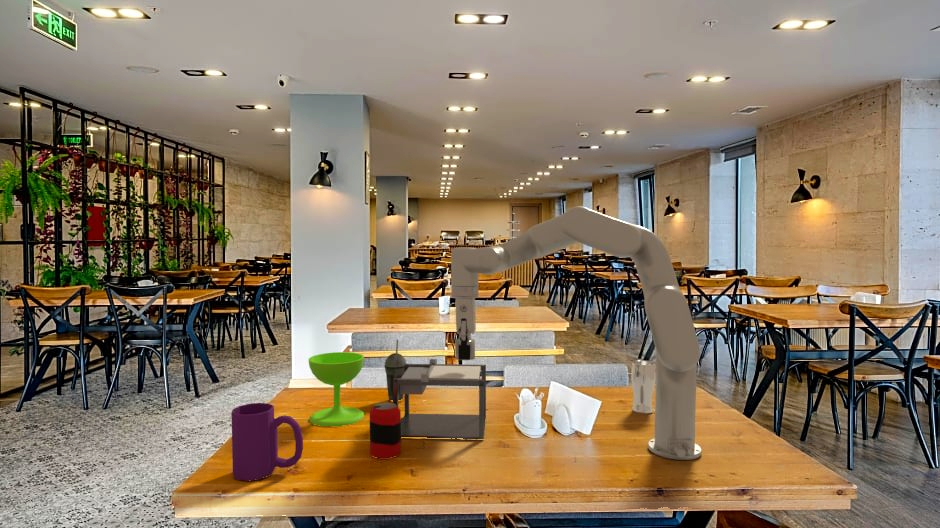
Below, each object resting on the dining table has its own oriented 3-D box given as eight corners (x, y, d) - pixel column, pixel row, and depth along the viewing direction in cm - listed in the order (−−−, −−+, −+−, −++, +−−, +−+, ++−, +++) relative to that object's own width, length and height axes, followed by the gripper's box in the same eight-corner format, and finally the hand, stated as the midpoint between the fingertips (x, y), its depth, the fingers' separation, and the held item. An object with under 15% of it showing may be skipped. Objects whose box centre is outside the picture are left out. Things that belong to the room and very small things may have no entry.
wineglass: (369, 422, 161) (369, 361, 160) (312, 430, 155) (311, 366, 154) (359, 407, 175) (358, 350, 174) (306, 413, 170) (305, 354, 169)
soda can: (367, 450, 140) (366, 403, 140) (396, 446, 143) (396, 400, 142) (373, 461, 133) (372, 412, 132) (404, 457, 136) (403, 408, 135)
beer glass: (657, 414, 168) (658, 365, 167) (634, 414, 168) (635, 365, 167) (650, 407, 175) (651, 360, 174) (628, 407, 175) (628, 359, 174)
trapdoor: (478, 395, 148) (478, 377, 147) (399, 394, 149) (399, 376, 149) (480, 381, 162) (480, 365, 162) (409, 380, 163) (409, 364, 163)
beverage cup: (380, 401, 181) (379, 340, 180) (393, 396, 187) (392, 337, 186) (398, 405, 177) (398, 342, 176) (411, 399, 184) (410, 339, 183)
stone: (474, 360, 152) (474, 342, 152) (454, 360, 152) (454, 342, 152) (475, 356, 157) (475, 338, 157) (456, 355, 158) (456, 338, 157)
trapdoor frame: (483, 441, 146) (483, 375, 145) (393, 439, 148) (392, 373, 147) (485, 418, 165) (485, 359, 164) (405, 416, 166) (405, 358, 165)
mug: (240, 465, 131) (239, 403, 130) (307, 463, 132) (306, 401, 131) (226, 483, 122) (224, 415, 121) (298, 480, 123) (297, 413, 122)
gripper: (476, 295, 145) (477, 364, 146) (479, 289, 162) (480, 350, 163) (448, 295, 145) (448, 363, 146) (454, 288, 163) (454, 350, 163)
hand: (465, 356), depth 155 cm, fingers closed on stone, 5 cm apart
